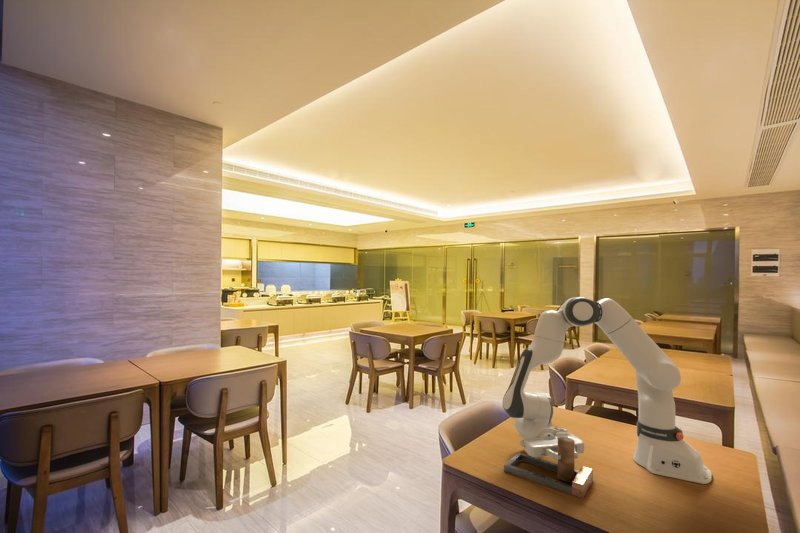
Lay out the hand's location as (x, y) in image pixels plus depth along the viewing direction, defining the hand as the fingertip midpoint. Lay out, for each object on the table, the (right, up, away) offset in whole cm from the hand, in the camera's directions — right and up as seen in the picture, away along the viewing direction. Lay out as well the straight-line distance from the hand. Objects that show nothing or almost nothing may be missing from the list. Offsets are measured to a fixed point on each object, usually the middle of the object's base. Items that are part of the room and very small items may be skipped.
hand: (567, 457), depth 125 cm
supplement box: (+10, -10, +51) cm, 53 cm away
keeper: (0, -7, +1) cm, 7 cm away
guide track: (-5, -9, +4) cm, 11 cm away
